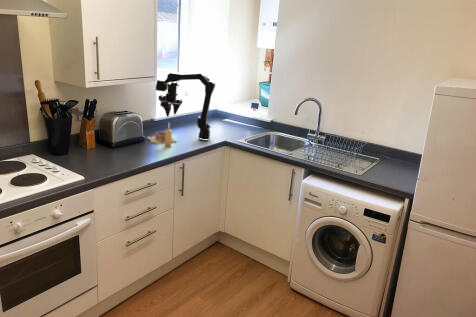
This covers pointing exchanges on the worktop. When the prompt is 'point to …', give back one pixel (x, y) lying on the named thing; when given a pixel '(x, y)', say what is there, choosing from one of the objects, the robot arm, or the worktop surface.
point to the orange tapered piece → (168, 136)
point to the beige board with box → (159, 138)
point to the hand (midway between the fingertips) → (171, 115)
